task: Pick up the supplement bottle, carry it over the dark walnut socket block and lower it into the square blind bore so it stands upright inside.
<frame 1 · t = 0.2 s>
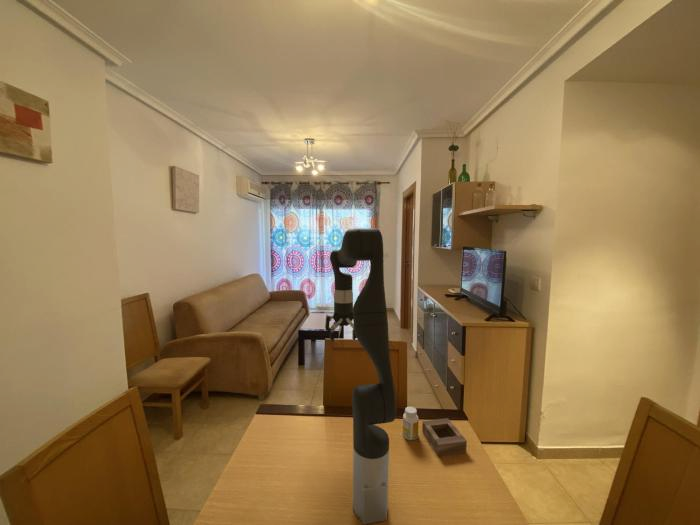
hand: (343, 340, 119), 29 cm above the table, fingers open, 8 cm apart
supplement bottle: (410, 435, 106), on the table
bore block: (443, 441, 103), on the table
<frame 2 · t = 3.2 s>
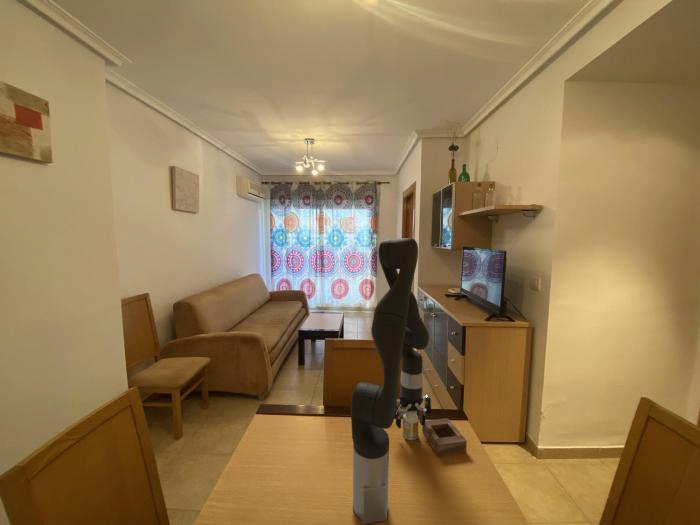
hand: (410, 425, 106), 4 cm above the table, fingers open, 8 cm apart
nothing on the table moved.
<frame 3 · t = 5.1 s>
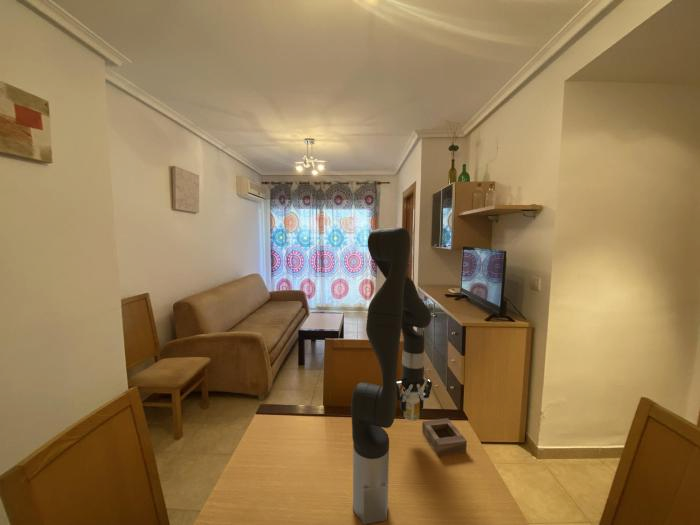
hand: (411, 409, 104), 10 cm above the table, fingers closed on supplement bottle, 5 cm apart
supplement bottle: (411, 417, 104), point 7 cm above the table, touching gripper
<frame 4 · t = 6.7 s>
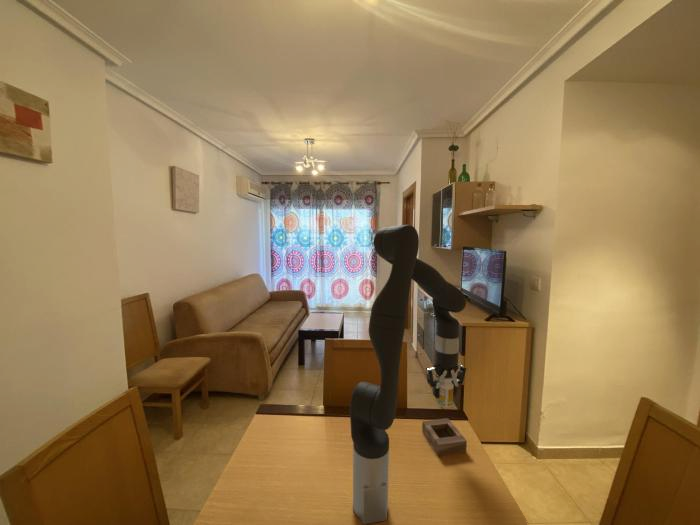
hand: (444, 396, 101), 17 cm above the table, fingers closed on supplement bottle, 5 cm apart
supplement bottle: (444, 404, 101), point 14 cm above the table, touching gripper
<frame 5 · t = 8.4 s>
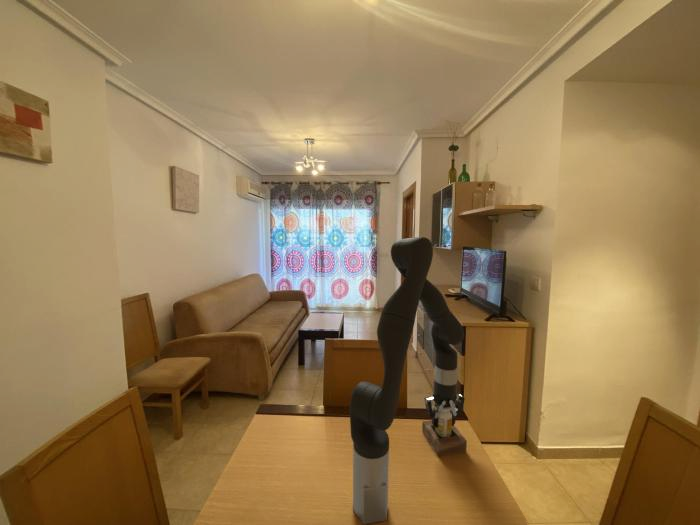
hand: (443, 425, 102), 6 cm above the table, fingers closed on supplement bottle, 5 cm apart
supplement bottle: (443, 432, 103), point 3 cm above the table, touching gripper
when the fingers open (5 cm above the table, at t = 9.6 s): supplement bottle drops 1 cm, resting on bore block.
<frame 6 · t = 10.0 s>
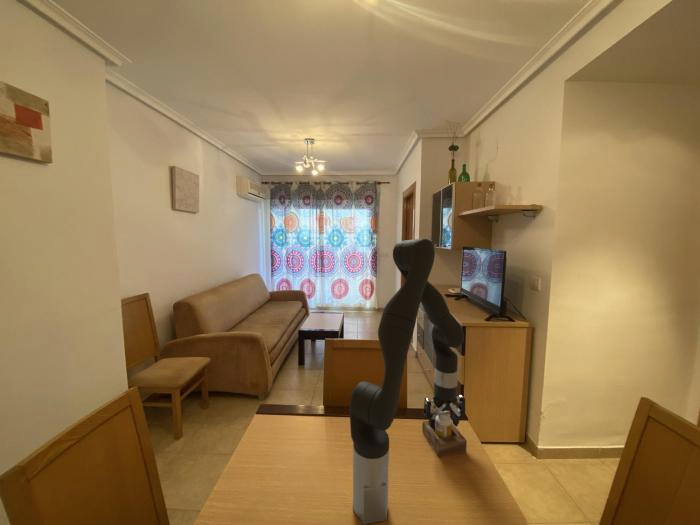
hand: (443, 426, 102), 6 cm above the table, fingers open, 8 cm apart
supplement bottle: (442, 439, 103), point 1 cm above the table, touching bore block
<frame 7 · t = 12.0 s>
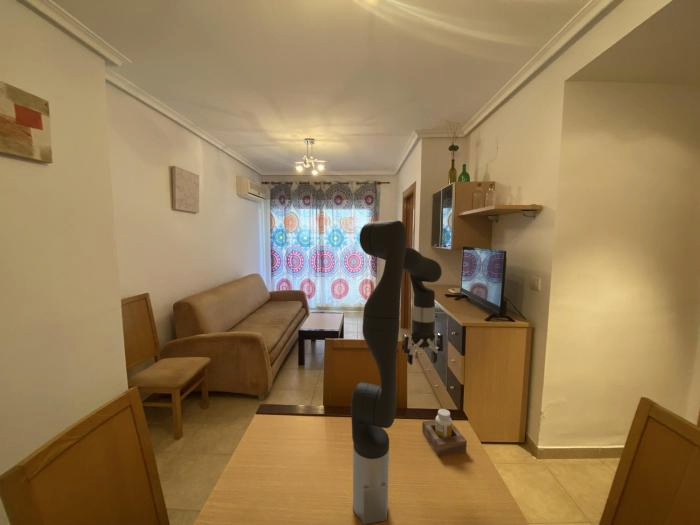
hand: (421, 363, 105), 26 cm above the table, fingers open, 8 cm apart
nothing on the table moved.
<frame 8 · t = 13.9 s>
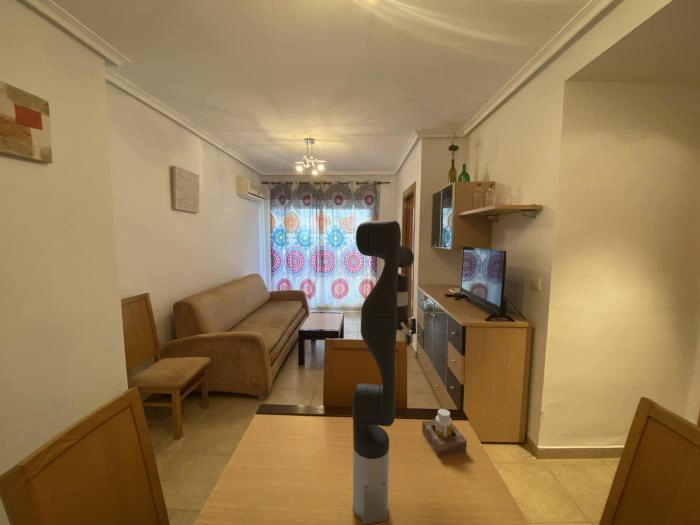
hand: (396, 345, 110), 30 cm above the table, fingers open, 8 cm apart
nothing on the table moved.
at the end: supplement bottle 0.1 cm off-centre on the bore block, point 0.9 cm above the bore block's base; supplement bottle tilted 0°; the gripper is holding nothing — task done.
